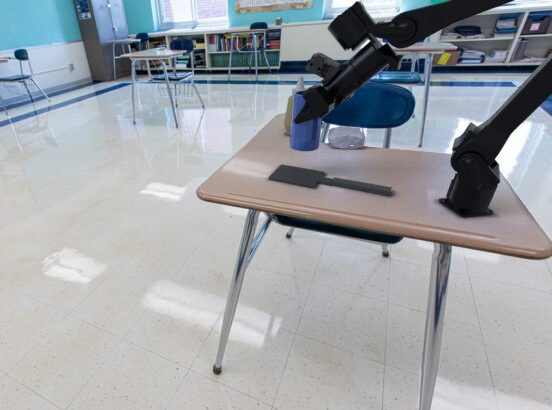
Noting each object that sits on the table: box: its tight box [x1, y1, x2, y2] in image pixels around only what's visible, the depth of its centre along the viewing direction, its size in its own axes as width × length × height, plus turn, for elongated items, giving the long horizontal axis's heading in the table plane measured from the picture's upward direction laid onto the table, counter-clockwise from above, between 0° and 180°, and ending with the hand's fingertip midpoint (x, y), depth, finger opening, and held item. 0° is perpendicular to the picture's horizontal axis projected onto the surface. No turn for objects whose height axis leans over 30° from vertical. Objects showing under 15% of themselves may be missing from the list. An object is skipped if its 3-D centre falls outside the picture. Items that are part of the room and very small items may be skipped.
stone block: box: [326, 125, 366, 150], centre depth 99 cm, size 12×5×10 cm
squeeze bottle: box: [283, 75, 308, 136], centre depth 104 cm, size 8×8×18 cm
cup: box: [289, 90, 324, 152], centre depth 76 cm, size 7×7×12 cm
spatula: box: [268, 164, 393, 197], centre depth 77 cm, size 26×9×1 cm, turn 59°
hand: (301, 118), depth 77 cm, fingers closed on cup, 7 cm apart
